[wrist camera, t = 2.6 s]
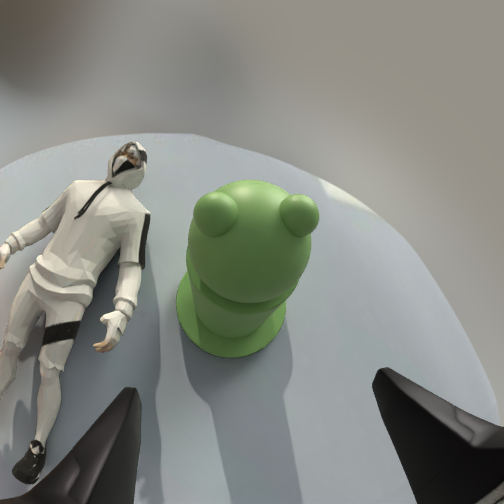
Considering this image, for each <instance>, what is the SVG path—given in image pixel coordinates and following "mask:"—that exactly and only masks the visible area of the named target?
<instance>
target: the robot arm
mask: <svg viewBox="0 0 504 504" xmlns="http://www.w3.org/2000/svg"><path fill="white" fill-rule="evenodd" d="M372 388H373V392H374V395H375V398H376V401H377V404H378V407H379V411H380V414H381V417H382V419H383V422H384V424H385V426H386V429H387V431H388V433H389V436H390V438H391V440H392V442H393V445H394V447H395V450H396V452H397V454H398V457H399V459H400V461H401V464H402V466H403V469H404V471H405V474H406V476H407V479H408V481H409V484H410V486H411V489H412V491H413V494H414V495H415V496H414V497H415V499H416V502H417V504H504V427H501V426H497V425H495V424H492V423H490V422H488V421H485V420H483V419H481V418H478V417H476V416H474V415H472V414H470V413H468V412H466V411H464V410H462V409H460V408H458V407H456V406H455V405H454V406H453V404H451V403H449V402H447V401H446V400H444V399H442V398H440V397H439V396H437V395H435V394H433V393H432V392H430V391H428V390H426V389H425V388H423V387H421V386H419V385H418V384H416V383H414V382H412V381H411V380H409V379H407V378H406V377H404V376H402V375H400V374H399V373H397V372H395V371H394V370H392V369H390V368H388V367H386V368H381V369H379V370H378V371H377V373H376V376H375V378H374V380H373V383H372ZM141 410H142V406H141V401H140V398H139V394H138V391H137V389H136V388H132V387H125V388H124V389H123V390H122V391H121V392H120V393H119V394H118V396H117V397H116V398H115V399H114V400H113V401H112V403H111V404H110V405H109V406H108V407H107V409H106V410H105V411H104V412H103V413H102V414H101V416H100V417H99V418H98V419H97V420H96V421H95V423H94V424H93V425H92V426H91V427H90V428H89V430H88V431H87V432H86V433H85V434H84V436H83V437H82V438H81V439H80V440H79V441H78V443H77V444H76V445H75V446H74V447H73V450H71V451H70V452H69V453H68V454H67V455H66V457H65V458H64V459H63V460H62V461H61V462H60V463H59V464H58V465H57V466H56V467H55V468H54V469H53V470H52V471H51V472H50V473H49V474H48V475H47V476H46V477H45V478H43V479H42V480H41V481H40V482H39V483H38V484H37V485H36V486H34V487H33V488H32V489H31V490H30V491H28V492H27V493H25V494H24V495H21V496H19V497H15V498H9V499H3V500H0V504H134V494H135V484H136V476H137V467H138V460H139V452H140V444H141Z"/></svg>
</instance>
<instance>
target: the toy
mask: <svg viewBox="0 0 504 504" xmlns="http://www.w3.org/2000/svg"><path fill="white" fill-rule="evenodd" d="M318 222H319V211H318V208H317V206H316V204H315V202H314V201H313V200H312V199H310V198H309V197H307V196H305V195H301V194H294V195H290V194H288V193H287V192H286V191H284V190H283V189H281V188H279V187H278V186H275V185H273V184H271V183H267V182H264V181H258V180H242V181H237V182H233V183H229V184H227V185H224V186H222V187H220V188H218V189H217V190H216V191H214V192H211V193H208V194H206V195H204V196H203V197H201V198H200V199H199V200H198V202H197V203H196V205H195V208H194V213H193V219H192V222H191V225H190V229H189V236H188V247H187V254H186V264H187V270H188V271H187V272H186V274H185V275H184V277H183V278H182V280H181V282H180V285H179V288H178V292H177V297H176V309H177V315H178V318H179V321H180V324H181V326H182V328H183V330H184V332H185V333H186V335H187V336H188V337H189V339H190V340H191V341H192V342H193V343H194V344H195V345H196V346H198V347H199V348H200V349H202V350H204V351H205V352H207V353H209V354H212V355H215V356H218V357H223V358H240V357H244V356H248V355H251V354H253V353H255V352H257V351H259V350H261V349H263V348H264V347H265V346H267V345H268V344H269V343H270V342H271V341H272V340H273V339H274V338H275V336H276V335H277V334H278V332H279V330H280V328H281V326H282V324H283V321H284V317H285V311H286V299H287V298H288V297H289V296H290V295H291V294H292V292H293V291H294V289H295V287H296V286H297V284H298V281H299V278H300V276H301V275H302V273H303V272H304V270H305V268H306V266H307V263H308V260H309V257H310V252H311V233H312V232H313V231H314V229H315V228H316V226H317V225H318Z"/></svg>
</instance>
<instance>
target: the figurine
mask: <svg viewBox="0 0 504 504" xmlns="http://www.w3.org/2000/svg"><path fill="white" fill-rule="evenodd" d="M146 163H147V155H146V151H145V150H144V148H143V147H142V146H141V145H140V144H139V143H136V142H130V143H128V144H125V145H124V146H122V147H121V148H120V149H119V150H118V151H117V152H116V153H115V154H114V155H113V156H112V157H111V158H110V160H109V162H108V177H107V180H106V179H105V180H102V181H85V180H75V181H74V182H73V183H71V184H70V185H69V186H68V187H67V188H66V189H65V191H64V192H63V193H62V194H61V195H60V196H59V197H58V198H57V199H56V200H55V201H54V202H53V203H52V204H51V205H50V206H49V207H48V208H47V209H46V210H44V211H43V212H42V215H41V216H40V217H38V218H37V219H35V220H34V221H32V222H30V223H29V224H27V225H26V226H24V227H23V228H21V229H20V230H19V231H16V232H12V234H11V236H10V237H9V238H8V239H7V240H6V241H5V244H4V245H3V246H0V269H1V268H4V265H5V263H6V262H7V261H8V260H9V258H10V255H11V254H14V253H15V252H16V251H18V250H20V251H22V250H23V249H24V248H25V247H27V246H30V245H32V244H34V243H36V242H38V241H40V240H41V239H43V238H44V237H46V236H47V235H48V234H49V233H50V232H53V233H54V232H55V231H56V230H57V231H56V233H55V235H54V236H53V238H52V240H51V241H50V243H49V244H48V245H47V247H46V248H45V250H44V253H43V254H42V255H39V256H38V257H37V259H36V263H34V264H33V265H31V266H30V269H29V273H28V274H27V276H26V278H25V279H24V281H23V282H22V284H21V286H20V288H19V290H18V293H17V295H16V297H15V299H14V301H13V304H12V307H11V311H10V316H9V320H8V325H7V328H6V331H5V339H4V342H3V348H2V351H1V353H0V399H1V397H2V395H3V393H4V392H5V390H6V389H7V388H8V386H9V385H10V384H11V383H12V381H13V380H14V379H15V375H16V368H17V362H18V356H19V353H20V352H21V351H22V349H23V348H24V346H26V343H27V341H28V338H29V336H30V334H31V332H32V329H33V327H34V325H35V324H36V322H37V321H38V319H39V318H40V316H41V315H42V313H43V312H44V311H46V324H45V334H44V338H43V342H42V347H41V351H40V355H39V357H38V361H40V368H39V369H40V373H41V377H42V382H41V385H40V389H39V392H38V395H37V410H38V418H37V426H36V436H35V439H34V441H31V443H30V446H29V449H28V451H27V453H26V454H25V456H24V457H23V458H22V459H21V460H20V461H19V462H18V463H16V465H15V466H14V468H13V470H12V472H13V475H14V476H15V478H16V479H18V480H19V481H21V482H23V483H25V484H34V483H36V481H37V480H38V479H39V476H40V472H41V470H42V468H43V467H44V463H45V456H46V448H45V442H46V439H47V437H48V435H49V433H50V431H51V428H52V426H53V424H54V422H55V420H56V417H57V414H58V411H59V408H60V402H61V397H62V396H61V390H60V383H59V373H60V370H61V369H62V371H63V372H64V365H65V363H66V360H67V357H68V355H69V353H70V350H71V348H72V345H73V343H74V340H75V337H76V334H77V331H78V328H79V325H80V322H81V319H82V316H83V313H84V310H85V308H87V307H88V306H89V304H90V303H91V301H92V299H93V294H92V292H93V289H94V287H95V286H96V284H97V278H98V276H99V274H100V272H101V271H102V270H103V269H104V268H105V267H106V266H107V265H108V263H109V262H110V260H111V259H112V258H113V256H114V255H115V253H116V252H117V250H118V249H119V248H121V250H120V258H119V262H118V265H117V266H118V267H119V268H120V270H119V276H118V283H117V285H116V288H115V294H116V296H115V298H114V299H113V304H114V306H115V311H114V312H111V313H108V314H105V315H103V316H102V317H101V318H100V320H101V322H102V323H103V324H104V325H106V327H107V335H106V338H105V340H104V341H103V342H101V343H97V344H94V345H93V346H94V347H95V348H96V349H95V351H96V352H102V353H104V352H107V351H110V350H112V349H113V348H114V347H115V346H116V345H117V344H118V342H119V340H120V337H121V335H122V336H123V334H124V331H125V328H126V324H127V322H128V321H129V320H130V319H131V317H132V313H133V311H134V310H135V308H136V307H137V294H138V291H139V288H140V282H141V270H143V269H144V268H145V245H146V240H147V234H148V229H149V224H150V213H149V212H148V211H147V210H146V209H145V207H144V206H143V205H142V204H141V203H140V202H139V201H138V200H137V199H136V198H135V197H134V195H133V193H132V189H135V188H136V187H138V186H139V185H140V183H141V181H142V180H143V177H144V173H145V171H146Z"/></svg>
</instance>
